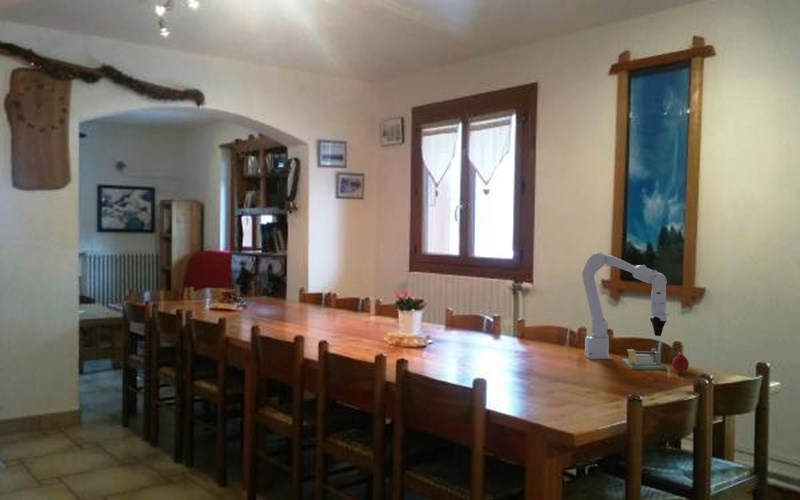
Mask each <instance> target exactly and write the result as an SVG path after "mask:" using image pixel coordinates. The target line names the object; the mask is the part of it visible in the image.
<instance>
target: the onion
mask: <svg viewBox="0 0 800 500" xmlns="http://www.w3.org/2000/svg"><path fill="white" fill-rule="evenodd" d="M689 364H690V363H689V360H688V359H687V357H686V356H684V354H683V353H681V352H680V351H679V352H678V354H677V355H676V356H674V358H673V359H672V362H671V365H672V368H673V369H674V371H676V372H677V374H683V373H685V372H686V371H687V370H688V369H689Z"/></svg>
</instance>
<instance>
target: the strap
mask: <svg viewBox="0 0 800 500" xmlns="http://www.w3.org/2000/svg"><path fill="white" fill-rule="evenodd" d="M656 352H657V350H656V351H652V350H650V351H648V350H642V351H641V350H635V353H636V354H649V355H651V354H656ZM627 353H628V354H629V352H628V351H627Z"/></svg>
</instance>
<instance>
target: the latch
mask: <svg viewBox="0 0 800 500" xmlns="http://www.w3.org/2000/svg"><path fill="white" fill-rule="evenodd" d="M626 351H627V353H628V352H629V353H628V355H627V359H628V364H630V365H636V353H635V351H636V350H635V349H634V348H631V349H630V348H629V349H626Z"/></svg>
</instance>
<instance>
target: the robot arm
mask: <svg viewBox="0 0 800 500" xmlns="http://www.w3.org/2000/svg"><path fill="white" fill-rule="evenodd" d="M604 266H605V267H616V268H618V269H621V270H622V271H623V270H624V271H626V272H629V273H631V274H632V277H633V278H634V279H637V280H639V281H641V282H644V283H647V284H651V292H650V316H652V317H650V318H649V320H650V322H651V325H652V329H653V332H654V333H653V334H654V336H655V337H661V336H662V334H663V330H664V327H665V325H666V323H667V316H669V315H670V314H669V313H668V312H666V311H667V291H666V290H667V287H666V286H667V283H668V280H667V277H666V275H664V273H661V272H658V270H656V269H651V268H648V267H647V265H645V264H639V265H638V264H637V265H633V264H631V263H629V262H627V261H625V260H623V259H620V258H618V257H616V256H615V255H614V256H613V255H610V254H607V253H603V252H602V251H596V252H594V253H593V254H591V255H590V257H589V258H588V259H587V261H586V263H585V265H584V268H583V270H582V273H581V276H582V280H583V284H584V290H585V294H586V298H587V304H588V307H589V311H590V317H591V323H592V324H591V334H590V336H589V335H587V336H585V338H584V356H585V357H586V358H587V359H588V360H592V359H593V360H596V359H597V360H601V359H602V360H611V359H612V357H611V356H610V355H609V354H610V353H609V343H610V342H609V340H610V339H609V338H610V335H609V334H608V329H609V324H608V322H607V320H605V317H604V313H603V309H602V306H601V302H600V301H601V300H600V296H599V292H598V288H597V284H596V280H595V275H596V274H597V273H598V271H599V270H600V269H601V268H603V267H604Z"/></svg>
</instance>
